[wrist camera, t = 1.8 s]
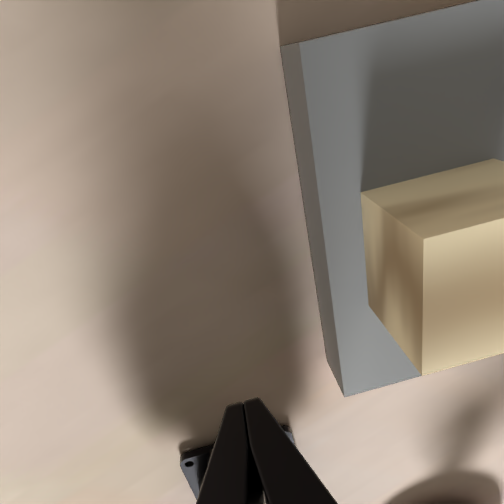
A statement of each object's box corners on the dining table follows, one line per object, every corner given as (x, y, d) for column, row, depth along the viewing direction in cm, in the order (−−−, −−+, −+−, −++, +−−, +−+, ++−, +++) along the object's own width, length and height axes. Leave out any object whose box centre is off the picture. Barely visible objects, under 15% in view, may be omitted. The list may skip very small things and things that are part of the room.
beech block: (482, 274, 16) (567, 335, 12) (368, 305, 16) (422, 375, 12) (493, 158, 14) (602, 192, 10) (360, 192, 13) (423, 239, 10)
